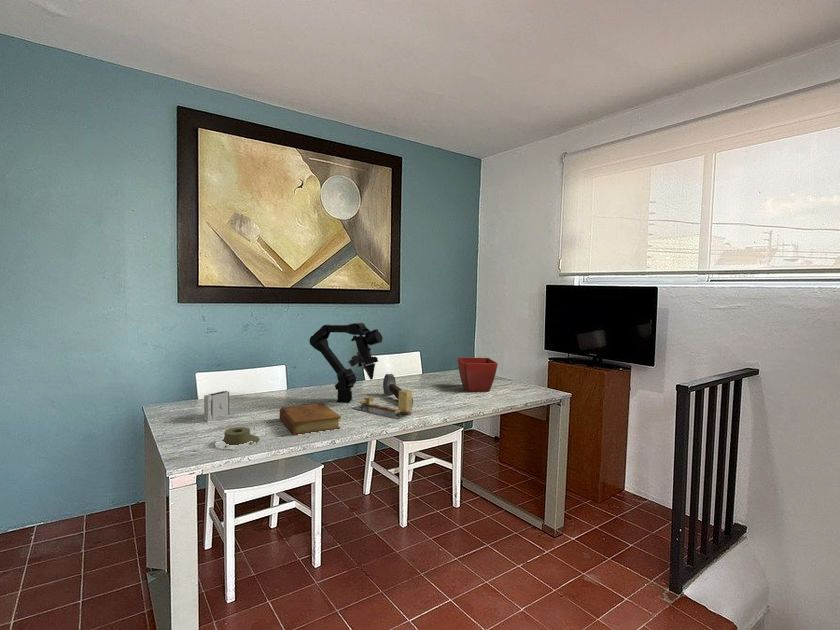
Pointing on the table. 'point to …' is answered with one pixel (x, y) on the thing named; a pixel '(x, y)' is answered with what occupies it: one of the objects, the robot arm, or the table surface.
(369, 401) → the trammel bar
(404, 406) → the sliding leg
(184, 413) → the table surface
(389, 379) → the hammer
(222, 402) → the grey rectangular block
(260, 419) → the table surface
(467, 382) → the plant pot
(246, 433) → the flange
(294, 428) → the diary
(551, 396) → the table surface
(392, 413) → the bolt strip
